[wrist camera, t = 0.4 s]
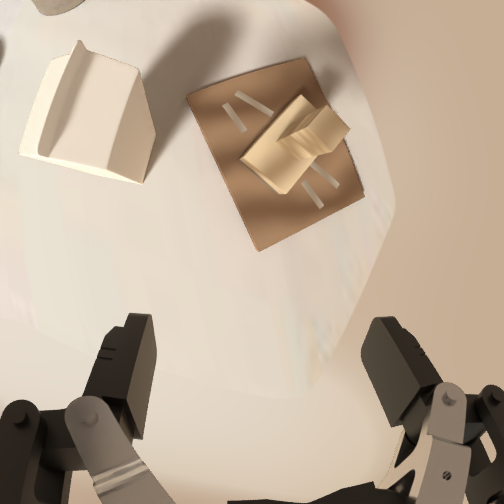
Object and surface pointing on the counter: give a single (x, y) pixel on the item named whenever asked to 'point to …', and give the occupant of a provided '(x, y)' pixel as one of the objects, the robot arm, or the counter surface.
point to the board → (249, 129)
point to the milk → (91, 117)
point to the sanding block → (293, 143)
